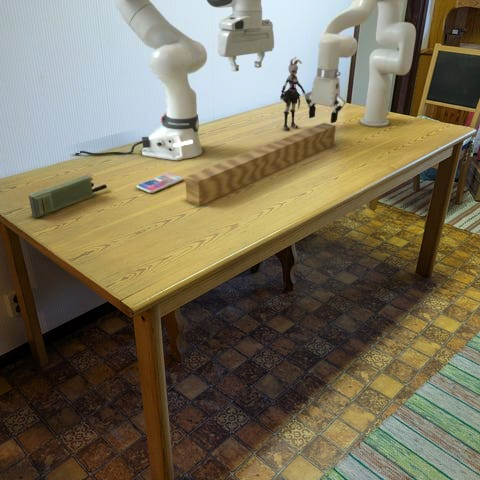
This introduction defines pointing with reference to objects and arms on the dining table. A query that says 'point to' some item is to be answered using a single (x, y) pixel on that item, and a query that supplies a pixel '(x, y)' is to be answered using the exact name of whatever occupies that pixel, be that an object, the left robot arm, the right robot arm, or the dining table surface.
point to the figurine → (291, 93)
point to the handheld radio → (62, 195)
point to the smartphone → (159, 182)
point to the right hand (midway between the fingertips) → (322, 119)
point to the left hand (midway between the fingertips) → (246, 69)
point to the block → (256, 164)
